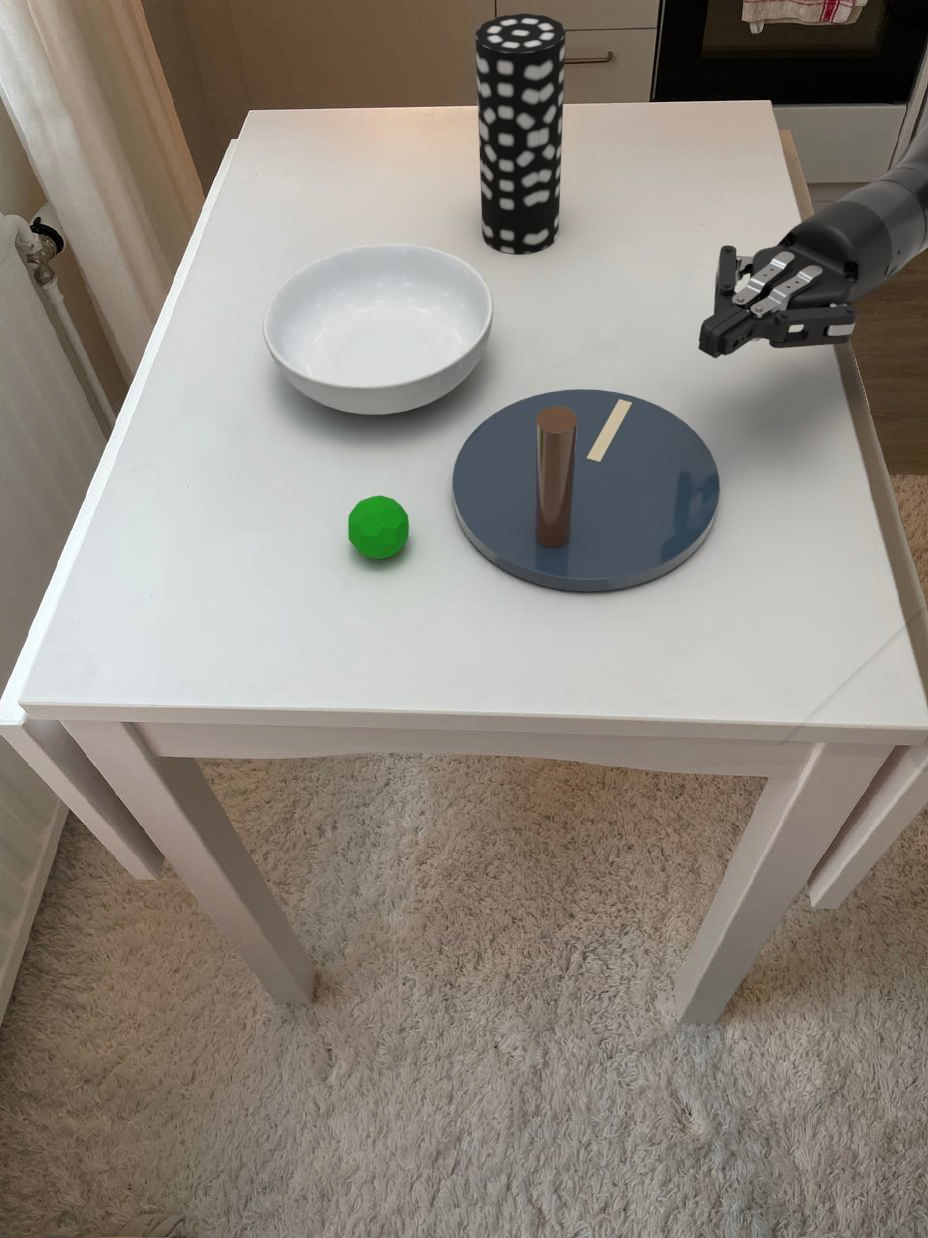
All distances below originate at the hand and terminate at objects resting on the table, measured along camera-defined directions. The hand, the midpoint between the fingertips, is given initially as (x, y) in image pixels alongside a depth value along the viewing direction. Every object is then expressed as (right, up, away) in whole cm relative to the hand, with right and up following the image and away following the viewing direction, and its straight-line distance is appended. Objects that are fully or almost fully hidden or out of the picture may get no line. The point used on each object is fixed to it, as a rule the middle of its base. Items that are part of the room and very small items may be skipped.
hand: (708, 343), depth 69 cm
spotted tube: (-12, +22, +35) cm, 43 cm away
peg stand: (-8, -9, +11) cm, 16 cm away
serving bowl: (-25, +4, +22) cm, 34 cm away
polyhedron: (-24, -14, +9) cm, 30 cm away
